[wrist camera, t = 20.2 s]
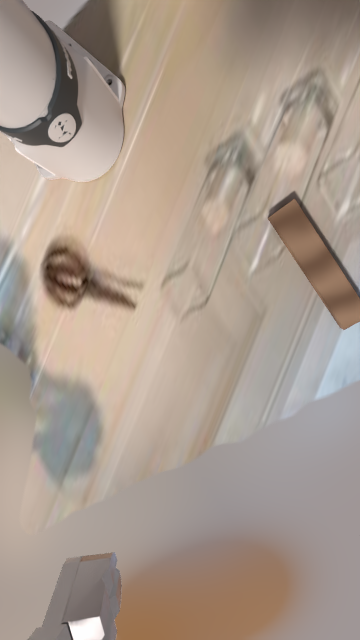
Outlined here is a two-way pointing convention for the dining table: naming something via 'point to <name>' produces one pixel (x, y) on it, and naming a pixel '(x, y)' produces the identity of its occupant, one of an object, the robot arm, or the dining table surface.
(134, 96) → the dining table surface
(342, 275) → the walnut board
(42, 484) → the dining table surface
